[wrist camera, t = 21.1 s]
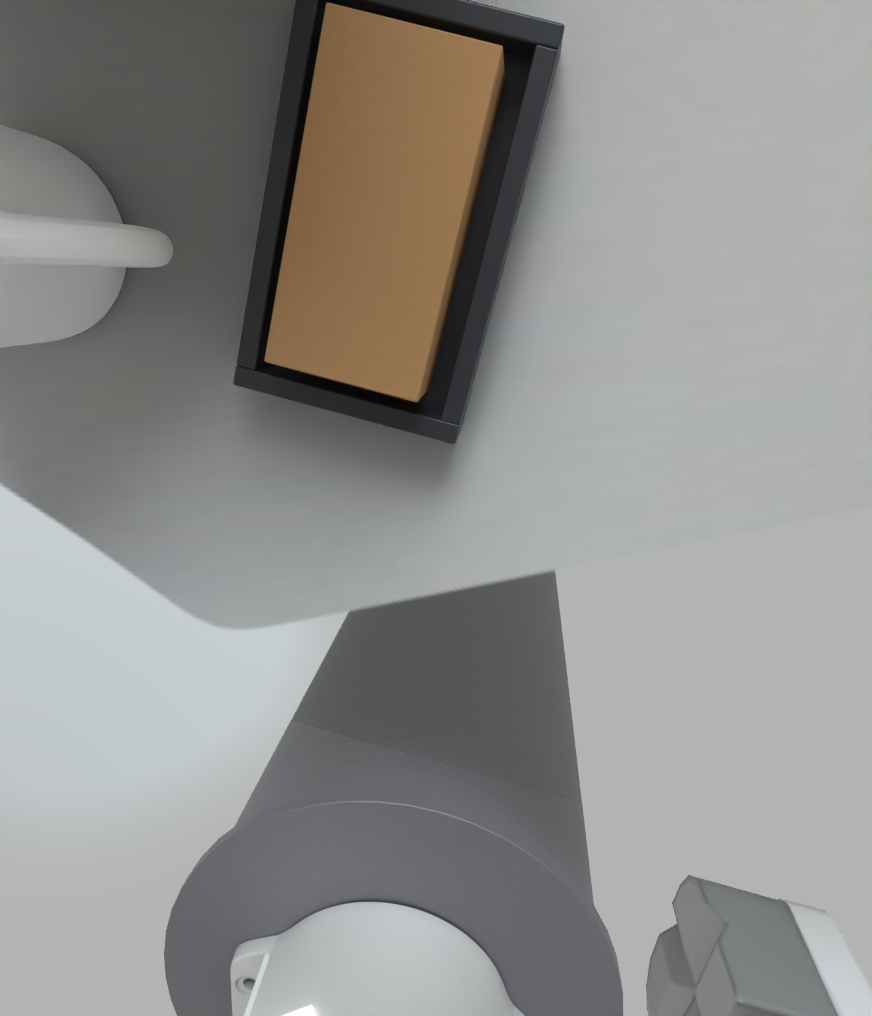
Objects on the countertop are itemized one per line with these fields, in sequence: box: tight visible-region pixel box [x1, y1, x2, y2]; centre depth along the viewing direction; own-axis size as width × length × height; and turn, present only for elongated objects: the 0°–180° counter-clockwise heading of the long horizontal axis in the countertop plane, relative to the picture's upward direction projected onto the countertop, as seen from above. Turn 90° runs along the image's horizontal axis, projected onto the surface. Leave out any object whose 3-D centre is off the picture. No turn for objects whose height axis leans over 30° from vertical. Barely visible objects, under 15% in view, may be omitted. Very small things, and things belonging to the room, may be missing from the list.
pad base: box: [234, 0, 564, 444], centre depth 29 cm, size 15×9×3 cm, turn 166°
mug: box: [0, 125, 174, 348], centre depth 27 cm, size 12×8×10 cm
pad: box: [265, 2, 505, 402], centre depth 28 cm, size 6×12×4 cm, turn 166°
